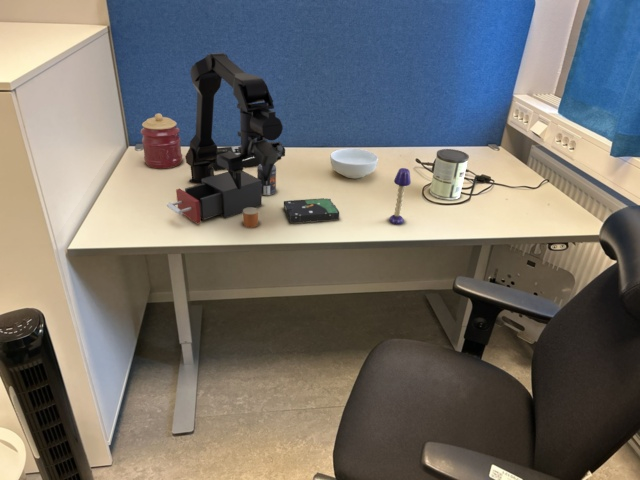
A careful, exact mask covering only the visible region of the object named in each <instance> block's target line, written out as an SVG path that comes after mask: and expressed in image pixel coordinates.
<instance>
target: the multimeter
mask: <svg viewBox="0 0 640 480" xmlns="http://www.w3.org/2000/svg"><path fill="white" fill-rule="evenodd" d="M240 146H241V145H237V146H235V145H234V146H223V147H217V157H218V155H219V154H222V153H226V152H232V153H234V154H236V155H238V154H242V153H241V152H240V151H238V147H240ZM259 164H260V162H259V161H258V160H257V159H256V158H253V159H249V160H246V161H243V165H242V166H241V168H243V169H244V168H252V167H254V168H255V167H258V165H259ZM212 167H213V168H214V171H224V170H226V169H225V168H223V167H221V166H219V165H218V164H217V159H216V163H212Z"/></svg>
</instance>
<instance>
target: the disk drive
mask: <svg viewBox="0 0 640 480" xmlns="http://www.w3.org/2000/svg"><path fill="white" fill-rule="evenodd" d="M283 210H284V212H285V214H286V216H287V219H288V221H289V223H290V224H302V223H303V224H304V223H315V222H327V221H328V222H329V221H337V220H339V219H340V211H339V209H338V208H337V206H336V205H335V204H334V202H333V200H332V199H331V198H310V199H294V200H293V199H291V200H283Z"/></svg>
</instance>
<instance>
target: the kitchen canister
mask: <svg viewBox="0 0 640 480" xmlns="http://www.w3.org/2000/svg"><path fill="white" fill-rule="evenodd" d="M141 125H142V128H141V129H140V134H141V135H142V139H141V143H142V147H143V148H142V149H143V158H144V162H145V165H146V166H148V167H149V168H154V169H171V168H175V167H177V166H180V165H181V164H182V163H183V153H182V147H181V146H182V145H181V137H180V136H179V133H180V131H181V130H180V128H179V127H178V126H177V125H178V124H177V122H176V120H173V119H172V118H170V117H167V116H163V115H162V113H155V115H154V116H153V117H149V118H147V119H146V120H145V121H143V122H142V123H141Z"/></svg>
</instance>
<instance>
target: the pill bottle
mask: <svg viewBox="0 0 640 480" xmlns="http://www.w3.org/2000/svg"><path fill="white" fill-rule="evenodd" d="M256 168H257V172H256V173H257V177H256V178H258V179H260V180H261V183H262V196H263V195H264V196H269V195H270V196H271V195H274V194H276V192H277V166H276V165H275V164H274V166H273V168H272V171H271V173H270V176H269V179H268V181H265V180H264V177H263V170H262V165H261V164H259V165H258V166H257V167H256Z"/></svg>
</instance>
